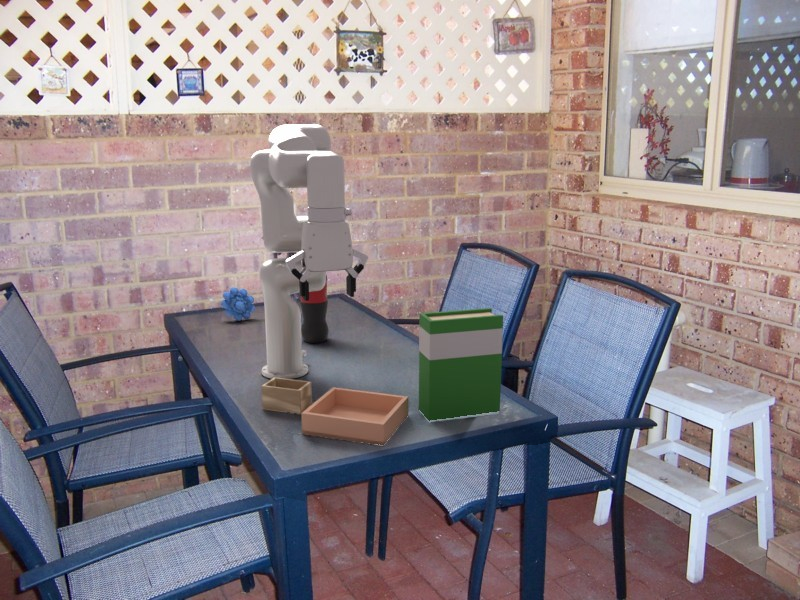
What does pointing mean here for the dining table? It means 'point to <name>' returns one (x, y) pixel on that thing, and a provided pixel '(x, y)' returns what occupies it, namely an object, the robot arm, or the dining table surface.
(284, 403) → the pine crate
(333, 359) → the dining table surface
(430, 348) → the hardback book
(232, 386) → the dining table surface
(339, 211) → the robot arm
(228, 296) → the blue flower
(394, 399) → the terracotta crate
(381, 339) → the dining table surface
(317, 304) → the cola bottle
